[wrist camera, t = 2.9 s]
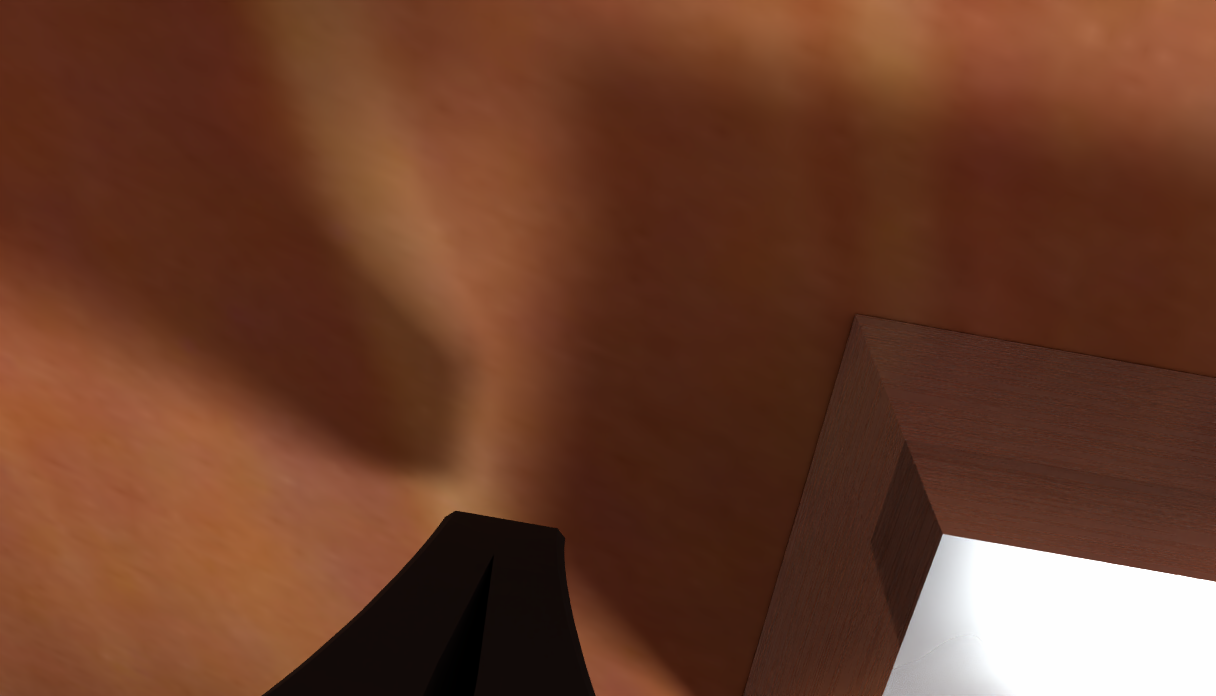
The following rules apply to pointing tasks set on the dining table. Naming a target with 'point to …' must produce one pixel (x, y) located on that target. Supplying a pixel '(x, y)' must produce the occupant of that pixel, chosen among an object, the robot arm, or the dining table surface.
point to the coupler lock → (999, 527)
